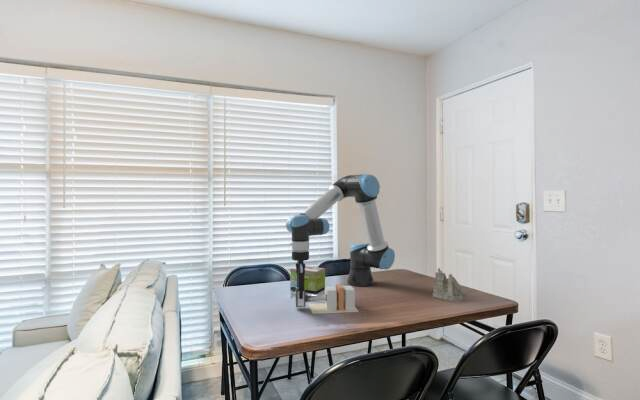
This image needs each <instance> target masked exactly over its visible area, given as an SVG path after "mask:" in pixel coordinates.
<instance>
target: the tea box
mask: <svg viewBox="0 0 640 400" xmlns="http://www.w3.org/2000/svg"><path fill="white" fill-rule="evenodd" d="M289 274H290V275H289V277H290V280H289V281H290V282H289V283H290V285H289V286H290V287H289V289H290V290H289V291H290V293H289V294H290V298H293V297H296V288H298V287H297V273H296V266H295V267H292V268H290V273H289ZM325 287H326V268H323V267H316V266H307V265H305V274H304V288H305V295H317V294H325Z"/></svg>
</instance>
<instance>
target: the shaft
mask: <svg viewBox="0 0 640 400" xmlns="http://www.w3.org/2000/svg"><path fill="white" fill-rule="evenodd" d="M304 289H305V288H304ZM296 290H298V288H296ZM325 301H327V294H317V295H305V290H304V306H298V291H296V296H295V307H296V308H306V303H316V302H318V303H319V302H320V303H321V302H325Z"/></svg>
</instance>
